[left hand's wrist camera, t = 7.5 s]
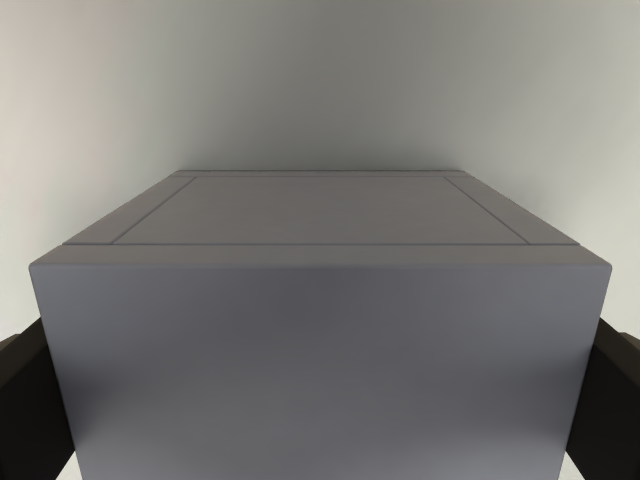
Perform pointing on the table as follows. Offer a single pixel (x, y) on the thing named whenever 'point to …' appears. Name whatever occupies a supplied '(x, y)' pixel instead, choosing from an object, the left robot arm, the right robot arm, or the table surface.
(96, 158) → the table surface
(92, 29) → the table surface
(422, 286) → the cabinet
